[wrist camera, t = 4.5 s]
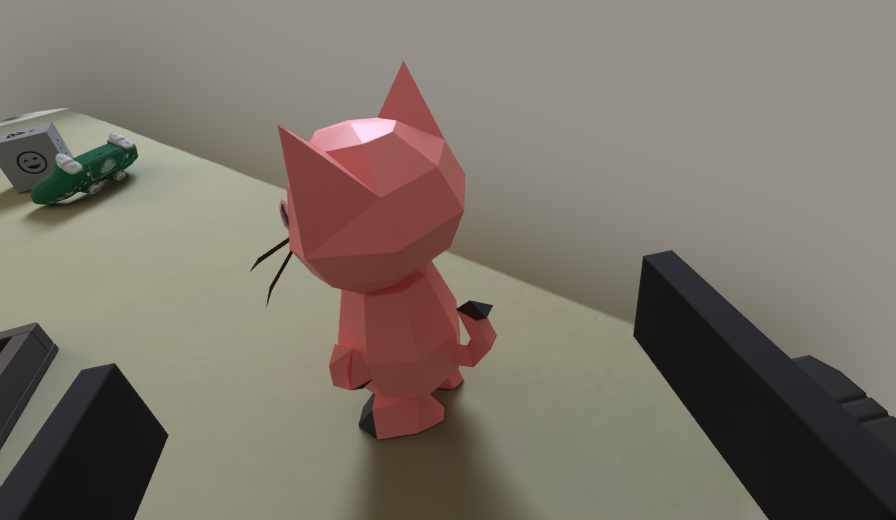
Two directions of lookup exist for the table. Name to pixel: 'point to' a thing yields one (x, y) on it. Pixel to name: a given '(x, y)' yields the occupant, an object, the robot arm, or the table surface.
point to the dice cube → (30, 154)
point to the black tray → (21, 370)
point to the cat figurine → (385, 256)
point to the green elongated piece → (85, 171)
